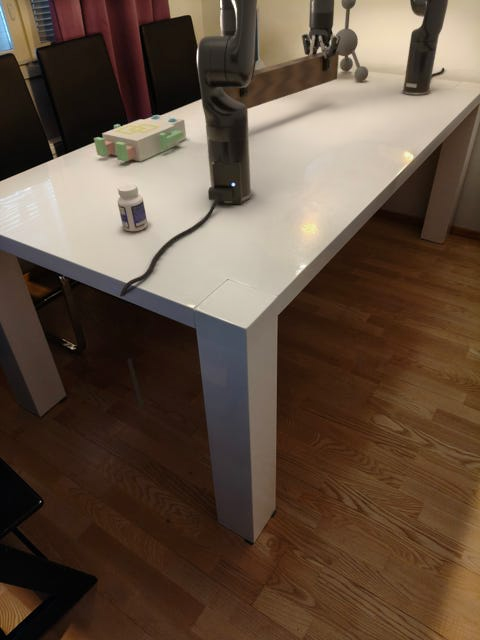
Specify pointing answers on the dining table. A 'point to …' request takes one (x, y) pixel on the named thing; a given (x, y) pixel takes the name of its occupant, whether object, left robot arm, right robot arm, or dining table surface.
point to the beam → (286, 79)
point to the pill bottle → (131, 208)
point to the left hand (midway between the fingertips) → (237, 95)
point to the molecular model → (350, 45)
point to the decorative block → (141, 138)
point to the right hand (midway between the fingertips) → (319, 69)
